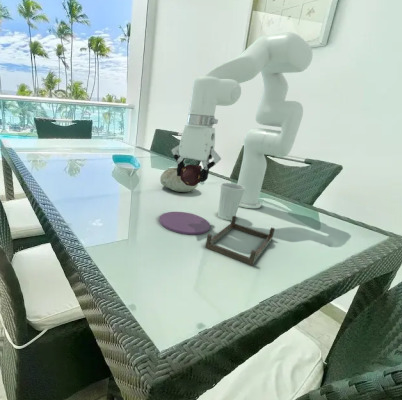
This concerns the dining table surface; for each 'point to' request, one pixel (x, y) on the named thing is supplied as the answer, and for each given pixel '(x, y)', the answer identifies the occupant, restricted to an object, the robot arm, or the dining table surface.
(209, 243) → the frame
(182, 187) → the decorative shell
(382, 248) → the dining table surface
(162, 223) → the lid
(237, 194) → the cup
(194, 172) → the dark red rounded piece
